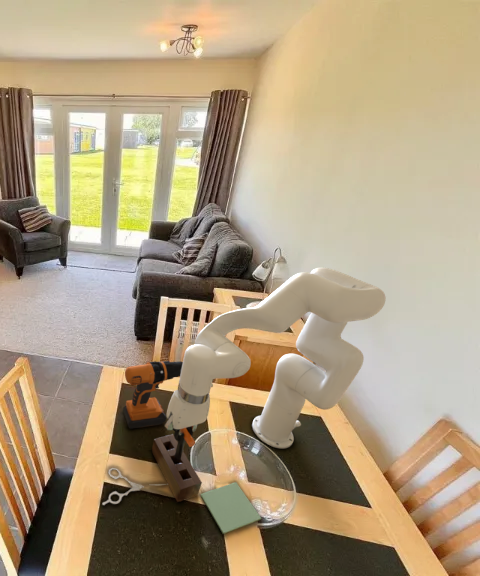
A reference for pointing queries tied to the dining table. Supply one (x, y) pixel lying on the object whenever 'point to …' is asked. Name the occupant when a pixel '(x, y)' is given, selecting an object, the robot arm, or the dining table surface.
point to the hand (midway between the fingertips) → (182, 438)
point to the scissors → (135, 488)
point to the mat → (230, 507)
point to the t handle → (189, 441)
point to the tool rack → (176, 468)
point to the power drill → (148, 392)
